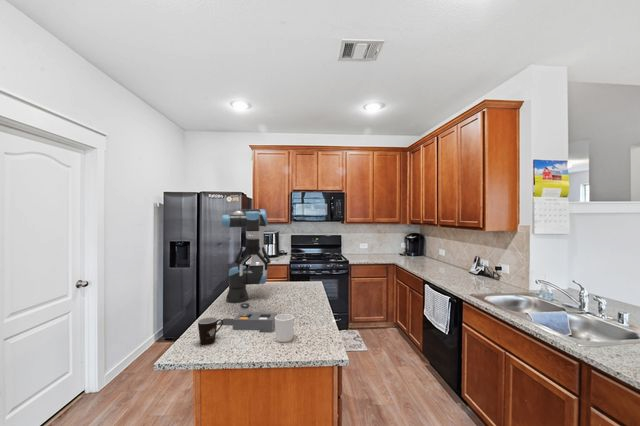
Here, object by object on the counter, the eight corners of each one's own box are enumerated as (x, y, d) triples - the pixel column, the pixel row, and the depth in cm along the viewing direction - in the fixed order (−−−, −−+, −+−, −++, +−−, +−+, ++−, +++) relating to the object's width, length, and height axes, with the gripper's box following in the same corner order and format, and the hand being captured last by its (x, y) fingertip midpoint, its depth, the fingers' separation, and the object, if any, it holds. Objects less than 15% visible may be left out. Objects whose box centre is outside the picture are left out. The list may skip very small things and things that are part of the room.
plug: (242, 322, 153) (242, 303, 153) (250, 322, 153) (250, 303, 153) (239, 325, 149) (239, 305, 149) (248, 325, 148) (248, 305, 149)
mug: (285, 344, 130) (285, 321, 130) (270, 340, 135) (270, 318, 135) (300, 336, 139) (300, 314, 140) (285, 332, 144) (285, 311, 144)
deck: (223, 320, 162) (223, 318, 162) (241, 320, 161) (241, 318, 161) (216, 327, 152) (216, 325, 152) (235, 327, 151) (235, 325, 151)
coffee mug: (198, 347, 127) (198, 325, 127) (196, 340, 135) (196, 319, 135) (225, 342, 133) (225, 320, 133) (222, 335, 140) (222, 315, 140)
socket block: (240, 323, 157) (240, 311, 157) (276, 323, 156) (276, 311, 157) (232, 331, 145) (232, 319, 146) (272, 332, 144) (272, 319, 145)
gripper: (228, 239, 161) (228, 276, 161) (272, 239, 160) (273, 277, 160) (233, 237, 169) (233, 273, 169) (275, 237, 167) (275, 274, 167)
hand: (252, 275), depth 164 cm, fingers open, 13 cm apart
